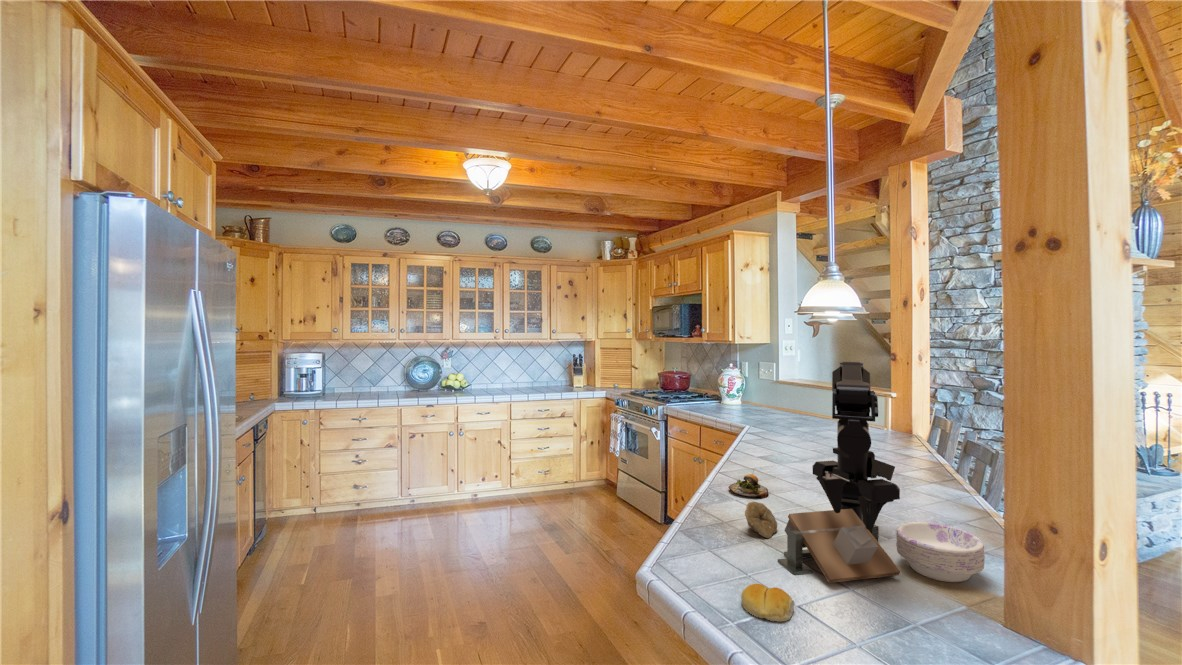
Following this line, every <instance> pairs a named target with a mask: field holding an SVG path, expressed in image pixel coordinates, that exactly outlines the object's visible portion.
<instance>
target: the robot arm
mask: <svg viewBox="0 0 1182 665" xmlns="http://www.w3.org/2000/svg"><path fill="white" fill-rule="evenodd" d="M831 373H832V375H831V378H832V379H831V380H832V381H831V382H832V384H831V386H832V387H831V389H832V395H831V397H832V405H831V410H832V411H831V413H832V414H831V415H832V416H831V418H832V420H833V419H834V420H838V421H837V432H836V433H837V435H836V436H837V437H836V440H837V444H836V445H837V447H832V454H835V455H837V458H836V459H837V461H835V460H822V461H821V460H820V461H815V462H814V464H812V475H814V476H816V477H815V479H816V480H817V481H818V482H819V484H820V486H821V488H822V490H823V492H824V493H825V495H826V497H827V499H828V501H829V503H830V505H831V508H832V510H834V512H835V513H840V511H841V509H853V511H854V512H855V513H856V514H857V516H858V517H859V518H860V520H861V521H862V522H864V523H865V526H866V529H867V530H872V529H873V526H874V524H875V525H876V523H877V522H876V521H877V520H878V516H879V515H880V512H881V511H882V508H883V507H884V506H885V505H886V504H887V503H892V502H893V503H894V501H895V500H896V501H897V500H900V499H901V490H900V487H899V486H898V485H897V484H896V483H894V482H892V479H893V476H894V473H895V468H896V466H895V465H893V464H889V463H887V462H883V461H881V460H878V459H876V455H875V453H874V451H871V450H870V449H871V447H872V438H871V435H870V431H869V430H870V429H869V427H870V425H869V423H868V422H876V418H878V417H879V403H878V396H877V395H876V391H875V390H871V373H870V372H869V371H868V370H867V369H865V368H864V363H863V362H860V361H841V362H839V367H837V368H836V369H835V370H833V371H832V372H831ZM836 412H837V413H836ZM877 477H879V478H877ZM880 477H881V478H880ZM869 478H870V479H869ZM883 478H884V479H883Z"/></svg>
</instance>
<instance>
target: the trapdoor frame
mask: <svg viewBox="0 0 1182 665" xmlns="http://www.w3.org/2000/svg"><path fill="white" fill-rule="evenodd" d="M863 524H864V525H865V523H864V522H863ZM869 531H870V533H871V534H872V535H873V536H874V538H875V539H876V540H877V542H878V543H879V526H878V524H877V525H876V523H875V524H874V526H873V529H872V530H869ZM786 535H787V536H786V539H787V542H786V544H787V547H786V548H787V550H786V551H783V557H784V558H779V559H778V558H777V563H778V564H779V565H780V566H782V567H784V569H786V570H787V571H788V572H789V573H791V574H792V575H794V576H797V575H805V574H813V573H814V570H813V569H812V567H811V568H810V567H809V565H807V564H805V563H804V562H803V558H804V559H805V558H813V556H812V555H811V553H810V552H809V550H808V548H807V549H804V548H803V533H801V532H799V531H798V530H796V529H795V528H788V529H787V534H786Z"/></svg>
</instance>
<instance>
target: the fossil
mask: <svg viewBox="0 0 1182 665" xmlns="http://www.w3.org/2000/svg"><path fill="white" fill-rule="evenodd" d="M744 516H745V519H746V522H747V525H748V527H750V528H751V529H752V531H754V532H755V533H758V534H759V535H760V536H761V537H763V538H766V539H770V538H772V536H773V534H775V533H776V532H777V530H778V523H777V520H776V518H775V515H774V514H773V512H772V511H771V509H769V508H768V507H767V506H766V505H765V504H764V503H762V502H757V501H749V502H748V503H747V504H746V508H745V510H744Z"/></svg>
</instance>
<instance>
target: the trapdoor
mask: <svg viewBox="0 0 1182 665" xmlns="http://www.w3.org/2000/svg"><path fill="white" fill-rule="evenodd" d="M787 518H788V520H787V523H786V526H785V528H784V532H785V534H786V535H787V529H788V528H795V529H796V530H798V531H799V532H801V533H803V548H802V549H805V548H807V549H808V550H809V552H810V553H811V555H812V556H813V557H812V558H813V559H814V562H816V565H817V566H818V568H819V569H820V571H821V572H822V574H823V576H824V577H825V579H826V581H827V582H828V583H829V584H830V583H831V584H832V583H839V582H840V583H841V582H849V581H850V582H851V581H857V580H859V581H860V580H866V579H873V578H874V579H875V578H883V577H890V576H899V575H900V574H901V570H900V569H899V567H898V565H897V564H895V563H894V562H895V561H894V560H892V559H891V557H890V556H889V554H888V553H887V552H886V550H884V548H883V547H882V546H881V544H880V543H879V541H878V542H877V540H876V539H875V538H874V536H873V535H872V534H871V533H870V531H869V530H867V529H866V526H865V525H864V524H863V522H862V521H861V520H860V518H859V517H858V516H857V514H856V513H855V512H854V511H853V509H841V511H840V513H835V512H834V510H833V509H831V510H830V509H829V510H820V511H818V510H817V511H807V512H795V513H789V514H788V516H787ZM855 526H863V527H864V529H865V530H866V531H867V533H868V534H869V535H870V537H871V538H872V539H873V541H874V542H875V543H876V545H877V546H878V548H877V549H876V551H875V553H874V554H873V556H872V558H871V560H870V561H869V563H860V564H851V565H847V564H846V562H845V561H844V559H843V558H842V556H841V555H840V553H839V552H838V550H837V549H836V547H835V546H834V545H833V543H834V541H835V539H836V537H837V535H838V533H839V531H840V529H841V528H843V527H855Z"/></svg>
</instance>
